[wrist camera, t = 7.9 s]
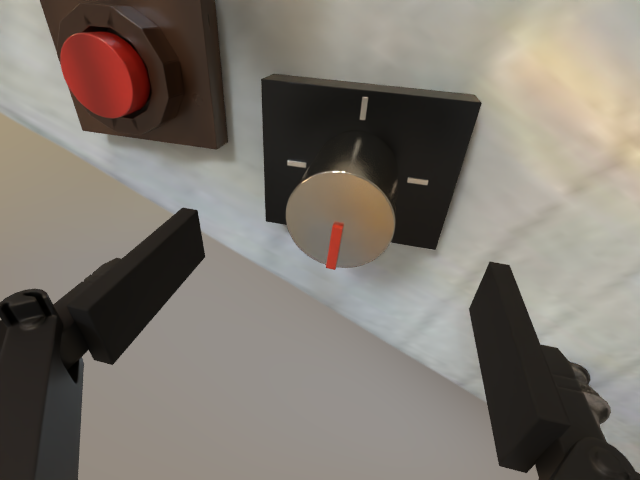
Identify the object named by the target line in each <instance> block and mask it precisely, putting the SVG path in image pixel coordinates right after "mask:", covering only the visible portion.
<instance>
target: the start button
mask: <svg viewBox="0 0 640 480" xmlns="http://www.w3.org/2000/svg"><path fill="white" fill-rule="evenodd" d="M60 61H61V68H62V72H63V75H64V78H65V80H66V82H67V85H68V86H69V88H70V90H71V91H72V93H73V94H74V96H75V97H76V98H77V99H78V100H79V101H80V103H81V104H82V105H84V106H85V107H86V108H87V109H89V110H90V111H91V112H93V113H95V114H97V115H99V116H102V117H105V118H119V117H122V116H125V115H128V114H131V113H133V112H136V111H138V110H140V109H141V108H143V106H144V105H145V104H146V102H147V100H148V98H149V94H150V81H149V76H148V72H147V69H146V67H145V65H144V62H143V61H142V59H141V57H140V56H139V54H138V53H137V52H136V50H135V49H134V48H133V47H132V46H131V45H130V44H129V43H128V42H127V41H125V40H124V39H122V38H121V37H119V36H117V35H115V34H113V33H110V32H81V33H75V34H73V35H71V36H70V37H68V38H67V40H66V41H65V42H64V44H63V46H62V49H61V56H60Z"/></svg>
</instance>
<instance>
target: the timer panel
mask: <svg viewBox="0 0 640 480" xmlns="http://www.w3.org/2000/svg"><path fill="white" fill-rule="evenodd" d="M261 84H262V115H263V146H264V177H265V209H266V221H267V222H273V223H279V224H285V225H287V223H286V206H287V203H288V200H289V197H290V195H291V193H292V192H293V190H294V189H295V187H296V186H297V184H298V183H299V181H300V180H301V178H302V177H303V175H304V174H305V172H306V171H307V169H308V168H309V166H310V165H311V163H312V162H313V160H314V159H315V157H316V155H317V154H318V152H319V151H320V149H321V148H322V146H323V145H324V144H325V143H326V142H327V141H328V140H329V139H330V138H332V137H334V136H335V135H337V134H339V133H342V132H346V131H351V130H359V131H365V132H369V133H372V134H374V135H376V136H378V137H380V138H381V139H382V140H384V141H385V142H386V143H387V144H388V145H389V146H390V148H391V149H392V151H393V153H394V154H395V157H396V159H397V163H398V186H397V203H396V221H395V231H394V236H393V238H392V241H391V242H392V243H398V244H404V245H409V246H415V247H421V248H427V249H433V250H436V247H437V244H438V240H439V237H440V234H441V231H442V228H443V224H444V221H445V218H446V215H447V212H448V208H449V205H450V202H451V199H452V196H453V193H454V189H455V186H456V183H457V180H458V177H459V173H460V170H461V167H462V164H463V161H464V157H465V154H466V151H467V148H468V145H469V141H470V138H471V135H472V132H473V129H474V126H475V122H476V119H477V116H478V113H479V110H480V106H481V102H480V100H479V99H478V98H477V97H476V96H475V95H471V94H462V93H452V92H442V91H433V90H423V89H414V88H404V87H394V86H385V85H375V84H365V83H356V82H346V81H337V80H327V79H317V78H308V77H298V76H289V75H279V74H272V75H270V76H268V77H265V78H263V79H261Z"/></svg>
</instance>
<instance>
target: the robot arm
mask: <svg viewBox="0 0 640 480" xmlns="http://www.w3.org/2000/svg"><path fill="white" fill-rule="evenodd" d="M204 258H205V253H204V247H203V241H202V235H201V229H200V223H199V217H198V211H197V210H193V209H187V208H182V209H180V210H179V211H178V212H177V213H176V214H174V215H173V216H172V217H171V218H170V219H169V220H167V221H166V222H165V223H164V224H163V225H161V226H160V227H159V228H158V229H157V230H156V231H154V232H153V233H152V234H151V235H150V236H148V237H147V238H146V239H145V240H144V241H142V242H141V243H140V244H139V245H138V246H136V247H135V248H134V249H133V250H132V251H130V252H129V253H128V254H127V255H126V256H125V257H123V258H122V259H120V258H115V259H113V260H112V261H109V262H107V263H105V264H103V265H102V266H101V267H99V268H98V269H97V270H96V271H94V272H93V274H92V275H90V276H88V277H87V278H86V279H85V280H84V282H81V283H80V284H78V285H77V286H76V287H75V288H73V289H72V290H71V291H70V292H68V293H67V294H66V295H65V296H63V297H62V298H61V299H60V300H58V301H57V302H56V303H55V304H54V305H53V304H52V302H51V300H50V298H49V296H48V294H47V293H46V292H45V291H43V290H40V289H29V290H24V291H20V292H17V293H15V294H13V295H11V296H9V297H7V298H5V299H4V300H3V301H2V302H0V318H1V319H2V320H0V480H78V464H79V445H80V426H81V407H82V389H83V368H84V363H83V359H82V356H83V355H84V354H85V353H86V352H87V351H88V350H89V351H90V353H91V355H92V357H93V358H94V360H97V361H100V362H104V363H107V364H111V365H113V364H114V363H115V362H116V360H117V359H118V358H119V357H120V355H122V353H123V352H124V351H125V350H126V349H127V348H128V346H129V345H130V344H131V343H132V342H133V341H134V339H135V338H136V337H137V336H138V335H139V333H140V332H141V331H142V330H143V329H144V328H145V327H146V325H147V324H148V323H149V322H150V321H151V320H152V318H153V317H154V316H155V315H156V314H157V313H158V311H159V310H160V309H161V308H162V307H163V305H164V304H165V303H166V302H167V301H168V299H169V298H170V297H171V296H172V295H173V294H174V293H175V292H176V290H177V289H178V288H179V287H180V286H181V284H182V283H183V282H184V281H185V280H186V278H187V277H188V276H189V275H190V274H191V273H192V271H193V270H194V269H195V268H196V267H197V266H198V265H199V263H200V262H201V261H202V260H203V259H204ZM469 311H470V316H471V322H472V327H473V332H474V337H475V342H476V348H477V353H478V358H479V363H480V368H481V374H482V379H483V384H484V389H485V394H486V400H487V405H488V410H489V415H490V420H491V425H492V430H493V436H494V441H495V446H496V452H497V457H498V462H499V466H502V467H505V468H509V469H513V470H517V471H521V472H525V473H527V472H528V471H529V470H530V469H531V468H532V467H533V466H534V465H536V469H537V472H538V476H539V480H640V474H639V473H637V472H636V471H635V470H634V468H633V467H632V465H631V464H630V462H629V461H628V460H627V458H626V457H625V456H624V455H623V454H621V453H620V452H619V451H618V450H617V449H616V448H615V447H613V446H612V445H610V444H608V443H607V442H606V440H605V439H604V437H603V435H602V432H601V430H600V428H599V426H598V424H597V421H596V419H595V417H594V415H593V412H592V410H591V408H590V406H589V404H588V401H587V399H586V397H585V395H584V393H583V392H582V388H581V386H580V384H579V382H578V380H576V375H575V373H574V370H573V368H572V366H571V364H570V362H569V361H568V360H567V359H566V357H565V356H564V355H563V354H562V353H561V352H560V351H559V349H558V348H555V347H550V346H545V345H540V343H539V340H538V338H537V335H536V332H535V330H534V327H533V325H532V322H531V320H530V317H529V314H528V312H527V309H526V307H525V304H524V301H523V299H522V296H521V294H520V291H519V288H518V286H517V283H516V281H515V278H514V276H513V273H512V270H511V268H510V265H506V264H500V263H494V262H489V265H488V267H487V269H486V272H485V274H484V276H483V278H482V281H481V283H480V285H479V288H478V290H477V292H476V294H475V297H474V299H473V301H472V303H471V306H470V308H469Z"/></svg>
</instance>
